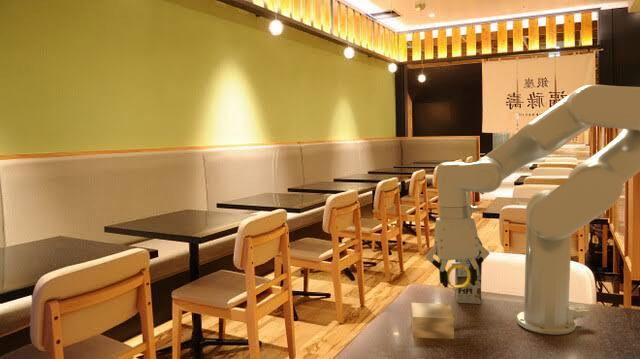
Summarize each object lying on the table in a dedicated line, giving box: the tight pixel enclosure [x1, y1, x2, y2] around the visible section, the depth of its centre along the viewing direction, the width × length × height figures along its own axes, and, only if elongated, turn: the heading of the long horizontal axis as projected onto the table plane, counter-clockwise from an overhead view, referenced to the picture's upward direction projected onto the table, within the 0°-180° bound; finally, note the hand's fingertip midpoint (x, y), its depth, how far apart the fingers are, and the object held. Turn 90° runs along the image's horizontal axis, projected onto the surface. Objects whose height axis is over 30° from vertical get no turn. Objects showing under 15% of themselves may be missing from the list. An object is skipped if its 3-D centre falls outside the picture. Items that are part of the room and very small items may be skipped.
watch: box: [446, 262, 471, 289], centre depth 127 cm, size 6×3×6 cm, turn 98°
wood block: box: [410, 302, 455, 340], centre depth 120 cm, size 9×9×5 cm
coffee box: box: [454, 236, 483, 305], centre depth 140 cm, size 9×6×16 cm
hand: (458, 284), depth 127 cm, fingers closed on watch, 6 cm apart
